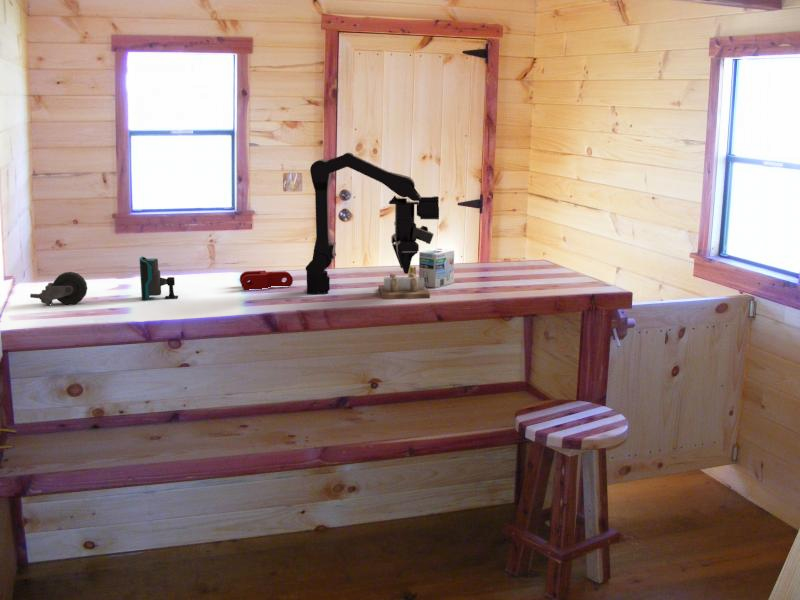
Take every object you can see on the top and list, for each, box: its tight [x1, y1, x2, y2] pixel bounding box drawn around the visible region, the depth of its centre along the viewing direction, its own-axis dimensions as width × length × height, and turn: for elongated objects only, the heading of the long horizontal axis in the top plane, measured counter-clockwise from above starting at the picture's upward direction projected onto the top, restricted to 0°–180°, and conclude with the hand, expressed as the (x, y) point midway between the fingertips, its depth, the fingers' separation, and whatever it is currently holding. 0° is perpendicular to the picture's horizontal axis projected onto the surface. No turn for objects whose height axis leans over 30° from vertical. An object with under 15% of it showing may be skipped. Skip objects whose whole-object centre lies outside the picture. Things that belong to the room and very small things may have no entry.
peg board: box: [378, 273, 431, 299], centre depth 275 cm, size 14×14×5 cm
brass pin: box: [407, 265, 417, 277], centre depth 287 cm, size 2×2×6 cm
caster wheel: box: [30, 271, 88, 307], centre depth 256 cm, size 6×10×15 cm
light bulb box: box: [418, 247, 455, 289], centre depth 288 cm, size 11×7×11 cm, turn 143°
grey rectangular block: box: [383, 276, 425, 291], centre depth 274 cm, size 12×3×4 cm, turn 96°
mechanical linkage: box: [239, 270, 294, 291], centre depth 282 cm, size 16×7×5 cm, turn 104°
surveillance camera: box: [139, 256, 179, 301], centre depth 265 cm, size 6×12×10 cm
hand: (404, 270), depth 274 cm, fingers open, 9 cm apart
